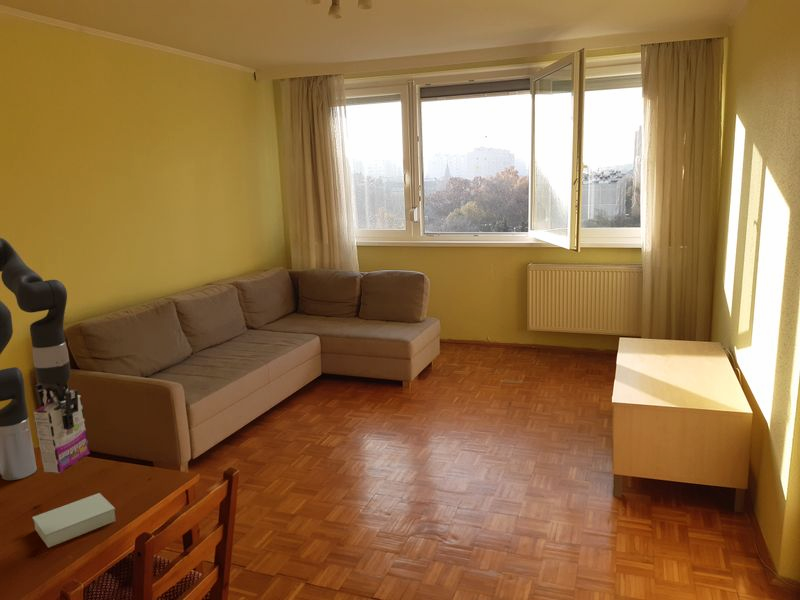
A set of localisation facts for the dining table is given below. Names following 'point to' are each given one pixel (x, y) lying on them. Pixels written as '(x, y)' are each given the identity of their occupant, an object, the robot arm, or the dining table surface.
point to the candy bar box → (60, 437)
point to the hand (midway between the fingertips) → (61, 425)
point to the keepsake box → (74, 519)
